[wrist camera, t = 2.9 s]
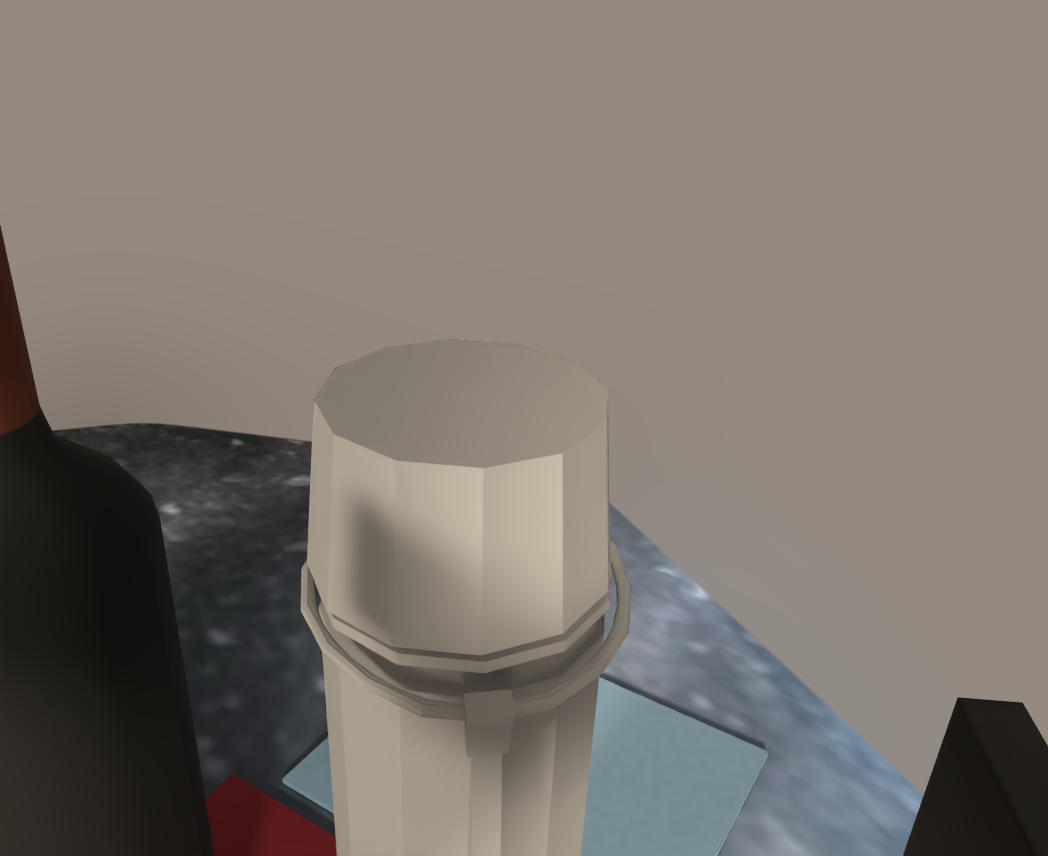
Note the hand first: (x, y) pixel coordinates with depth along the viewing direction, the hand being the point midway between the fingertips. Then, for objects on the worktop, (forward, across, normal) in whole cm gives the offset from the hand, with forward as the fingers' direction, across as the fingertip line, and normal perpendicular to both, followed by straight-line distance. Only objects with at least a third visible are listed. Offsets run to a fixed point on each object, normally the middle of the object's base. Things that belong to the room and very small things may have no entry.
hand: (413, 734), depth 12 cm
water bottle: (+9, 0, -25) cm, 27 cm away
